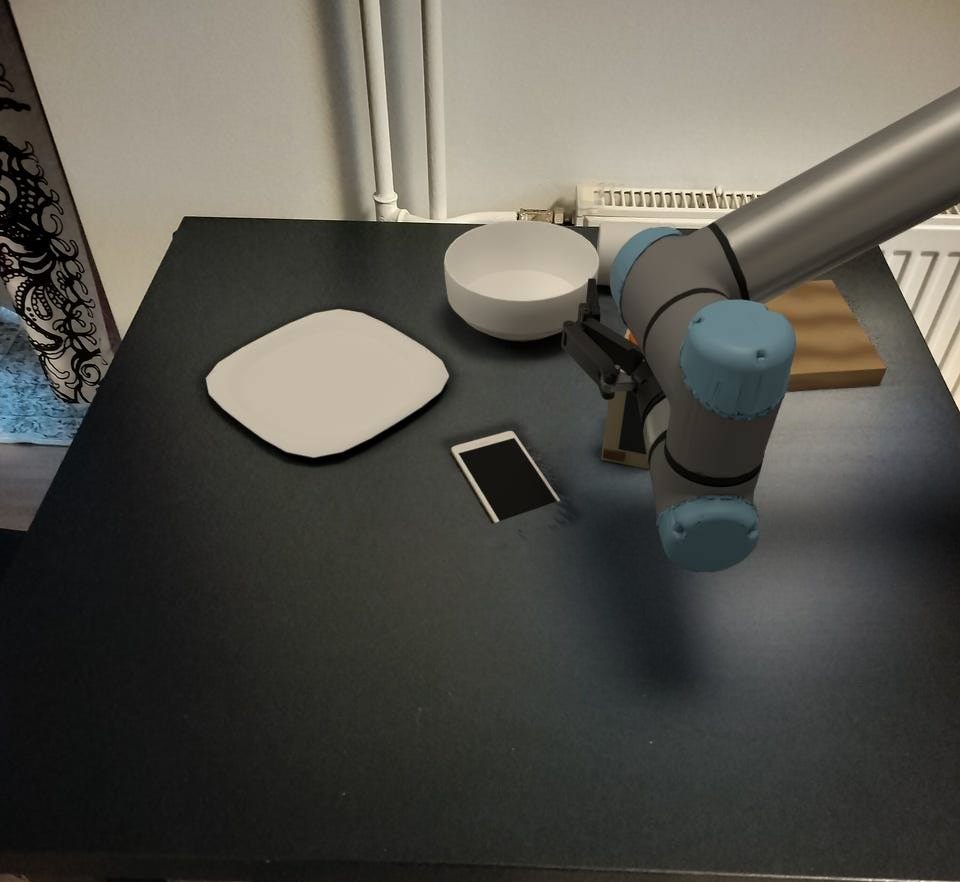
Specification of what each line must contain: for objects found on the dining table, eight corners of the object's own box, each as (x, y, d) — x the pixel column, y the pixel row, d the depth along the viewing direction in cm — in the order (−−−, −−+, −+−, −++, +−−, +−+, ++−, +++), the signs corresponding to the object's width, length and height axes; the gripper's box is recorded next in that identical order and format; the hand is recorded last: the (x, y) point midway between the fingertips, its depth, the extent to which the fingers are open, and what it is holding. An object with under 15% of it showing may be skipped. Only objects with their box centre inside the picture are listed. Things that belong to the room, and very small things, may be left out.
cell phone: (505, 543, 93) (505, 539, 92) (450, 451, 102) (449, 446, 101) (573, 523, 95) (573, 518, 94) (512, 433, 104) (512, 429, 103)
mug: (667, 299, 121) (676, 242, 115) (594, 296, 122) (599, 239, 116) (664, 254, 129) (673, 198, 122) (595, 251, 129) (601, 195, 123)
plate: (185, 388, 110) (181, 376, 109) (342, 306, 121) (340, 294, 120) (312, 485, 99) (310, 473, 98) (473, 385, 110) (473, 373, 108)
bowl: (623, 316, 119) (631, 255, 112) (526, 381, 110) (528, 320, 104) (514, 263, 127) (516, 205, 121) (416, 321, 119) (411, 260, 112)
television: (751, 442, 103) (777, 352, 93) (742, 489, 98) (769, 399, 88) (615, 417, 106) (627, 327, 96) (600, 461, 101) (611, 371, 91)
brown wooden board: (880, 385, 109) (887, 367, 107) (784, 391, 108) (790, 374, 106) (826, 296, 121) (831, 279, 119) (740, 301, 121) (744, 284, 119)
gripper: (541, 456, 81) (534, 323, 94) (816, 454, 81) (770, 322, 94) (545, 386, 75) (536, 256, 88) (841, 385, 75) (789, 254, 88)
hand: (657, 290), depth 91 cm, fingers open, 13 cm apart
